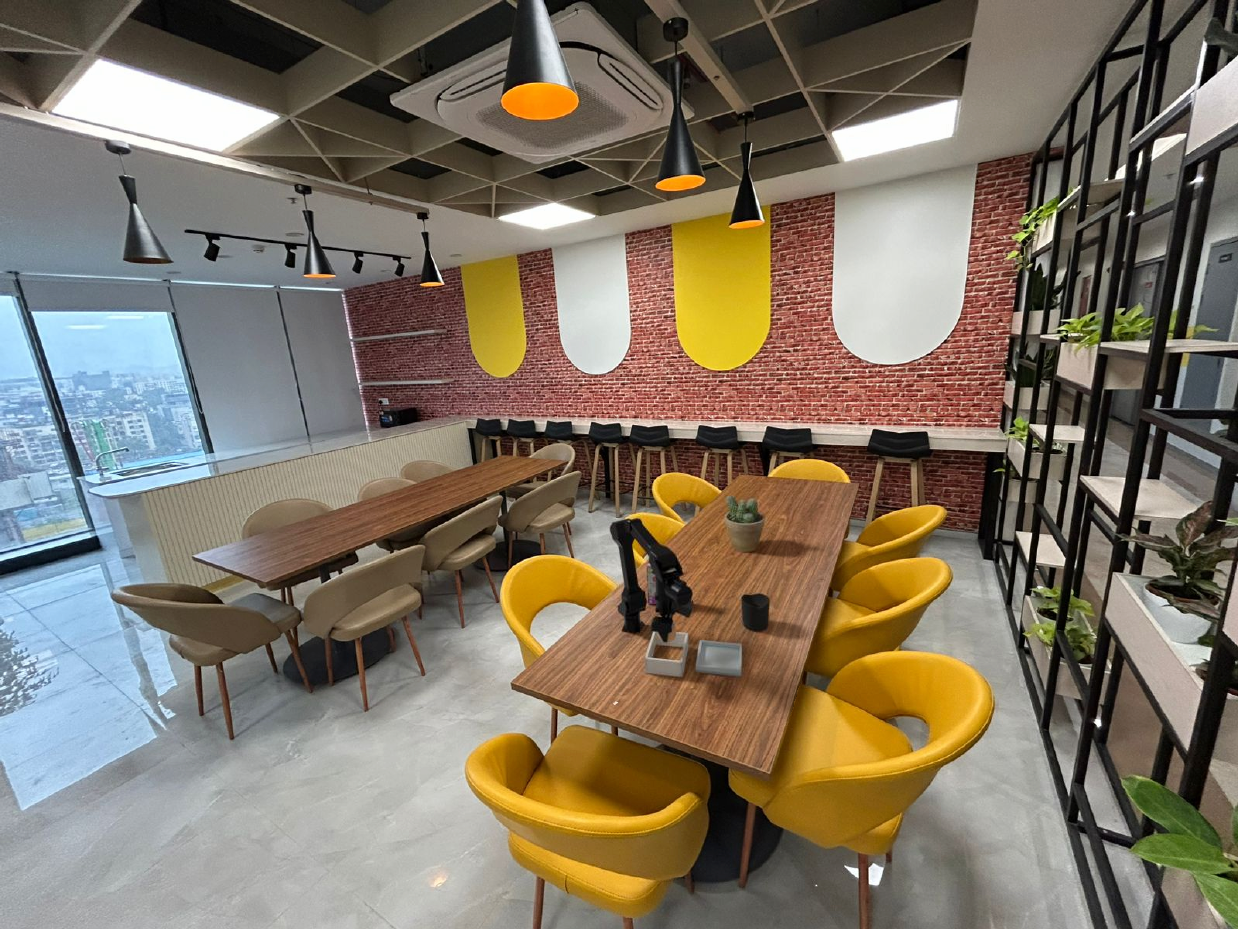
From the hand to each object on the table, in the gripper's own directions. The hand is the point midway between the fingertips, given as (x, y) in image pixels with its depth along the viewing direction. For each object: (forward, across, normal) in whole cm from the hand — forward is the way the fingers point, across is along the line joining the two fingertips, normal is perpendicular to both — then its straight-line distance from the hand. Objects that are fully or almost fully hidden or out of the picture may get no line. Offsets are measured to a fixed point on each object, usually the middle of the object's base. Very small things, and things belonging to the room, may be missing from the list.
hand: (667, 636), depth 155 cm
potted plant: (+8, +90, -23) cm, 93 cm away
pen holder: (+9, +24, -27) cm, 37 cm away
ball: (-2, 0, 0) cm, 2 cm away
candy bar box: (+8, +34, +7) cm, 36 cm away
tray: (+8, +2, -16) cm, 18 cm away
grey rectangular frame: (+8, 0, 0) cm, 8 cm away
